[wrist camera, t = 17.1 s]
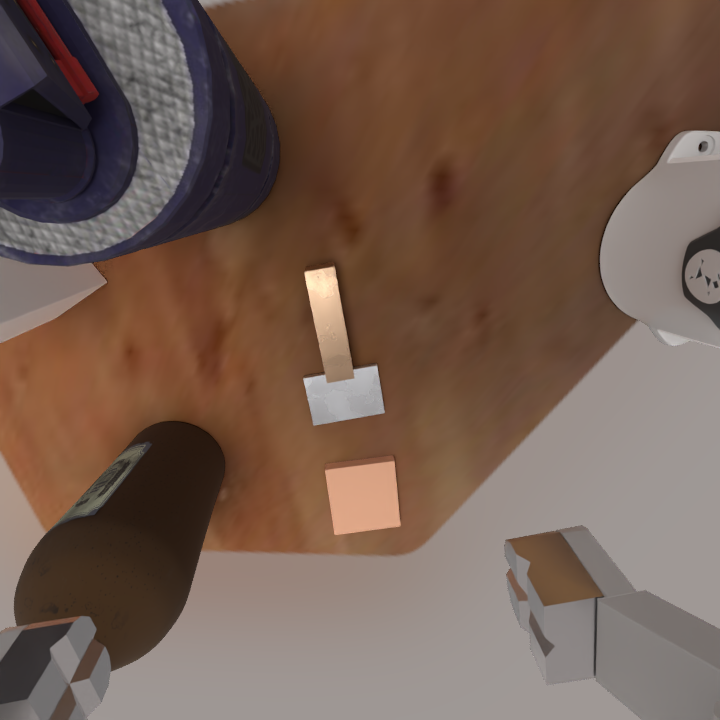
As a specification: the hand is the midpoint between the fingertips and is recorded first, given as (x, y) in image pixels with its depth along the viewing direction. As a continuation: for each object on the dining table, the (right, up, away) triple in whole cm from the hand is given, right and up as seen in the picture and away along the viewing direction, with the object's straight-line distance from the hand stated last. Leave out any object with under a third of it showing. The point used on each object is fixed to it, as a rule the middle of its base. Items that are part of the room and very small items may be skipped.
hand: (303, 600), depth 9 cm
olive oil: (-17, -5, +37) cm, 41 cm away
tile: (+1, -6, +38) cm, 38 cm away
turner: (-1, +6, +34) cm, 35 cm away
